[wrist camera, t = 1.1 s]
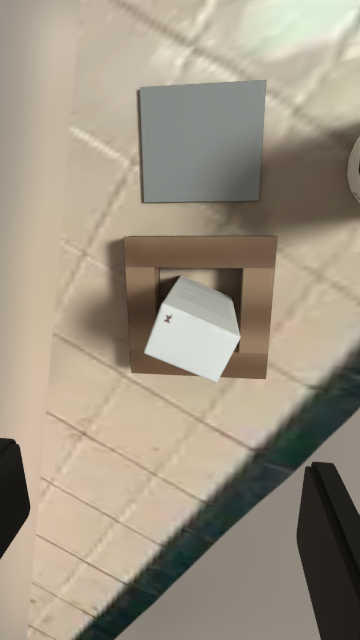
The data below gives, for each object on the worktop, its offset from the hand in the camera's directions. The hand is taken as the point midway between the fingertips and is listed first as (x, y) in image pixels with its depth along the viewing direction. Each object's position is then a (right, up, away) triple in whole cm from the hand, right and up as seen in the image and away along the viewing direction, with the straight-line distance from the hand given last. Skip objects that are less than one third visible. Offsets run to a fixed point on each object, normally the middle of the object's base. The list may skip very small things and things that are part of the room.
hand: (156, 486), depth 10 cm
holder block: (+3, +7, +23) cm, 24 cm away
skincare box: (+3, +7, +23) cm, 25 cm away
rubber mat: (+3, +21, +19) cm, 29 cm away
